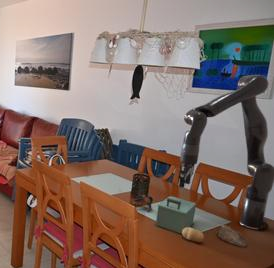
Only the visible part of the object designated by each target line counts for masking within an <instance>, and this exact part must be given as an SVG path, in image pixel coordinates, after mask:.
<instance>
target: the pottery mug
mask: <svg viewBox="0 0 274 268" xmlns="http://www.w3.org/2000/svg"><path fill="white" fill-rule="evenodd" d="M144 202H145V204H146V206H147V207H146V211H147V212H150V211H152V204H153V202H154V199H153V197H152V196H151V195H149V196H148V195H147V196H146V195H145V194H141V195H138V196H135V197H134V198H132V205H135V206H138V204H141V205H143V204H144Z"/></svg>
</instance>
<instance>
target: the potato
mask: <svg viewBox="0 0 274 268" xmlns="http://www.w3.org/2000/svg"><path fill="white" fill-rule="evenodd" d="M181 235H182V236H183V237H184V238H185V239H186V240H189V241H192V242H194V243H202V242H203V241H204V240H205V235H204V233H203V232H202V231H201V230H199V229H195V228H193V227H191V226H190V227H186V228H184V229H183V231H182V234H181Z"/></svg>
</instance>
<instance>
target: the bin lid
mask: <svg viewBox="0 0 274 268" xmlns="http://www.w3.org/2000/svg"><path fill="white" fill-rule="evenodd" d="M195 205H196V206H197V202H193V201H190V200H186V199H182V198H179V197H175V196H171V195H169V196H168V197H167V198H166V199H164V200H162V201H161V202H159V203H158V204H157V207H158V206H159V207H162V208H165V209H168V210H172V211H175V212H178V213H181V214H185V215H186V214H187V213H188V212H189V211H190V210H191V209H192V208H193V207H194V206H195Z"/></svg>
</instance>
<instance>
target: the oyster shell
mask: <svg viewBox="0 0 274 268" xmlns="http://www.w3.org/2000/svg"><path fill="white" fill-rule="evenodd" d="M219 226H220V228H219V230H218V231H219V232H218V234H217V235H218V238H220V239H221V241H225V242H227V243H229V244H232V245H234V246H235V245H236V246H238V247H246V242H245V240H244V238H242V237H241V236H242V234H241V231H237V230H233V228H231V227H230V226H227V225H225V224H220V225H219Z"/></svg>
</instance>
